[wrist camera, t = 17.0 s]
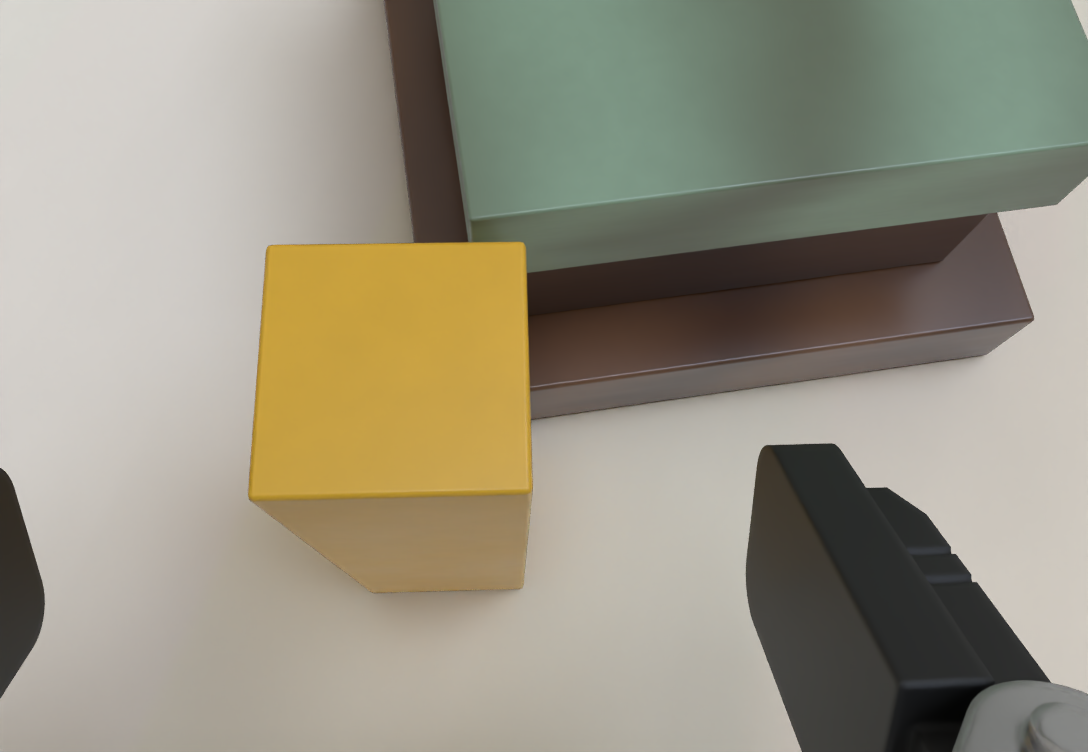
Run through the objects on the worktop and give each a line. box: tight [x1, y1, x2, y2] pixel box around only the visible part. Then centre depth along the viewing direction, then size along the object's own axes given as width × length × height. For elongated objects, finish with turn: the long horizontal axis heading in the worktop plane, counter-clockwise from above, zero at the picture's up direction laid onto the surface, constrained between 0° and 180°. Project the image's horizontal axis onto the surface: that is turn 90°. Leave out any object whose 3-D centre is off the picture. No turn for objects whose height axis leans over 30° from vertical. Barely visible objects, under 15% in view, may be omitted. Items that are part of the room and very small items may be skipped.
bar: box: [248, 242, 533, 593], centre depth 14 cm, size 3×3×9 cm
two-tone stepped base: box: [384, 0, 1088, 419], centre depth 18 cm, size 12×12×7 cm
